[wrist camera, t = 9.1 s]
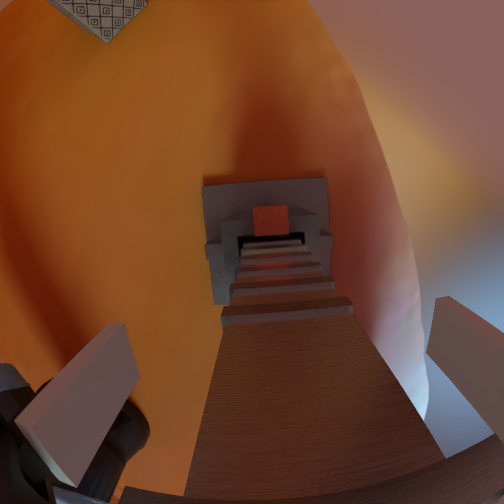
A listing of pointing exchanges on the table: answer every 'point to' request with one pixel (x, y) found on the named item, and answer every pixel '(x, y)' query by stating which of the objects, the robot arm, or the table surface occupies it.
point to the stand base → (239, 223)
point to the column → (314, 405)
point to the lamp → (100, 14)
